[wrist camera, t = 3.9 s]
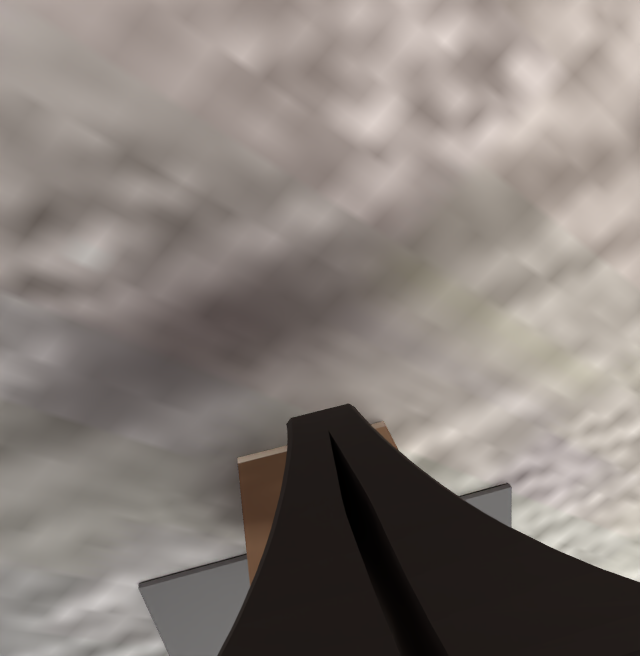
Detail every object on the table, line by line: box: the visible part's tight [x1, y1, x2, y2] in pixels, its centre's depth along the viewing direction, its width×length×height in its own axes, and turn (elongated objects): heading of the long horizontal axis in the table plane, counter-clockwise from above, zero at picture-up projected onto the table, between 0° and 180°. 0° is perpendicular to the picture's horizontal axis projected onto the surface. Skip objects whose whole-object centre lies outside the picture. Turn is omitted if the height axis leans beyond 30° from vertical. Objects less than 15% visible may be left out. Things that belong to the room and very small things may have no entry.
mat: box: [139, 484, 512, 656], centre depth 23 cm, size 14×11×1 cm
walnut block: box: [237, 421, 398, 586], centre depth 16 cm, size 5×4×7 cm
